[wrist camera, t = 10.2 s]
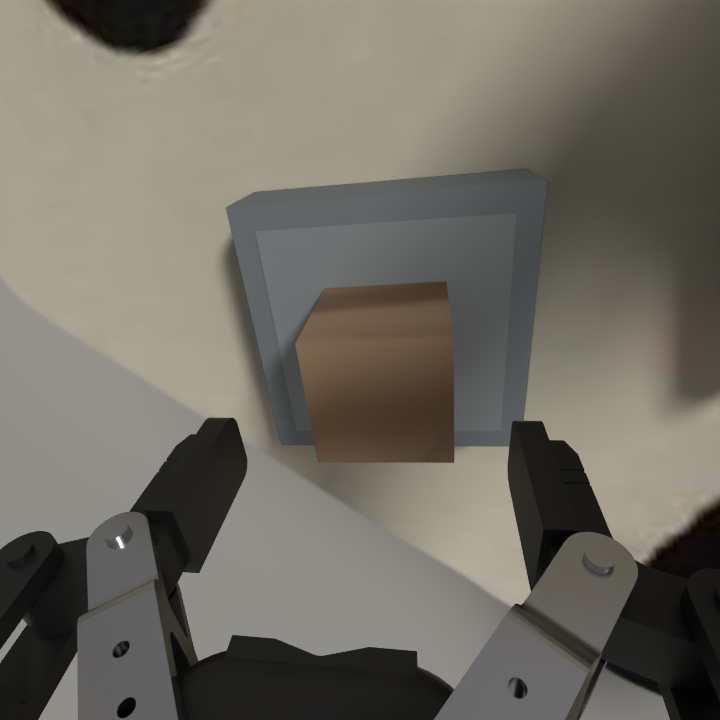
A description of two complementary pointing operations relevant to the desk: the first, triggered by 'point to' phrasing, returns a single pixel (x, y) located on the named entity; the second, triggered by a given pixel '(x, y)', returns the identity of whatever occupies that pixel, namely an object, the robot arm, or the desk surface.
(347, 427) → the walnut cube
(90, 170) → the desk surface
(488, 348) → the plinth
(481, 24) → the desk surface
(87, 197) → the desk surface
